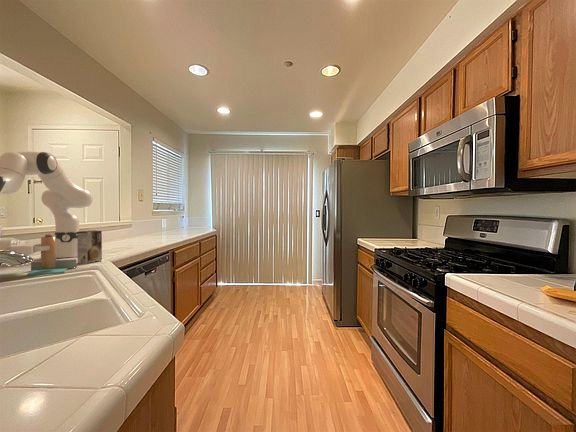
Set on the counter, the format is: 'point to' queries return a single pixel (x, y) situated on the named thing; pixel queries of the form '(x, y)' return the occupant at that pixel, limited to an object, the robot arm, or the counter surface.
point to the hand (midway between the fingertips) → (51, 247)
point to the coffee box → (89, 246)
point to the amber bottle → (48, 252)
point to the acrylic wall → (59, 264)
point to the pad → (48, 271)
